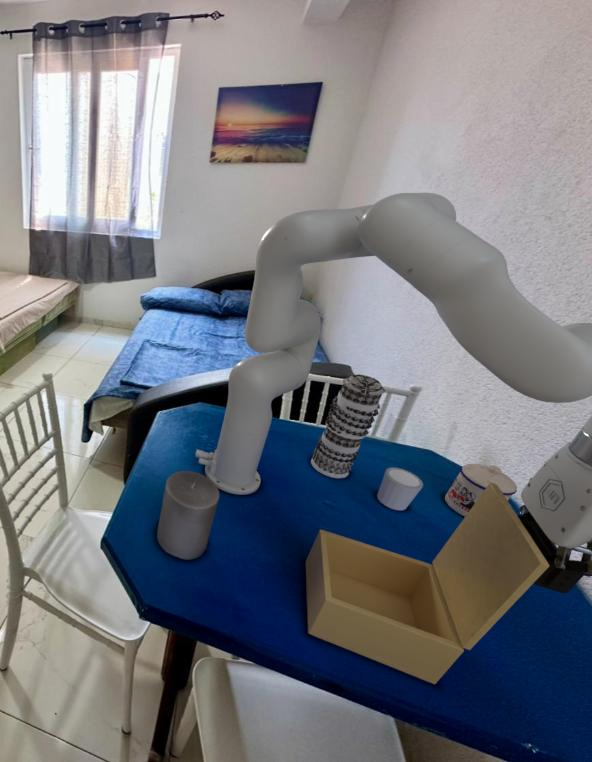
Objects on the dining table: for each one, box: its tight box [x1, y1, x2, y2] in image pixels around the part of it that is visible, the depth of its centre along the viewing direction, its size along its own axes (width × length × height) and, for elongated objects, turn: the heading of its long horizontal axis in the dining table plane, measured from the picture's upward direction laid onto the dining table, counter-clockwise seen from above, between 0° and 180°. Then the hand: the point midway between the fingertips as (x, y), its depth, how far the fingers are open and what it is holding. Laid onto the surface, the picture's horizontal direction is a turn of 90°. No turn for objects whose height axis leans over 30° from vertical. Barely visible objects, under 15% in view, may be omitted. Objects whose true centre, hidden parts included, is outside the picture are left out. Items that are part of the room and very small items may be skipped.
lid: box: [431, 483, 558, 651], centre depth 56 cm, size 18×15×5 cm
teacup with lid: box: [444, 463, 518, 517], centre depth 87 cm, size 12×9×12 cm
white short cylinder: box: [376, 467, 424, 511], centre depth 90 cm, size 7×7×7 cm
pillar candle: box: [156, 470, 220, 561], centre depth 77 cm, size 10×10×15 cm
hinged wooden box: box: [305, 529, 465, 685], centre depth 66 cm, size 17×15×9 cm
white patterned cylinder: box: [310, 374, 386, 479], centre depth 96 cm, size 9×9×25 cm
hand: (532, 561), depth 54 cm, fingers open, 7 cm apart
